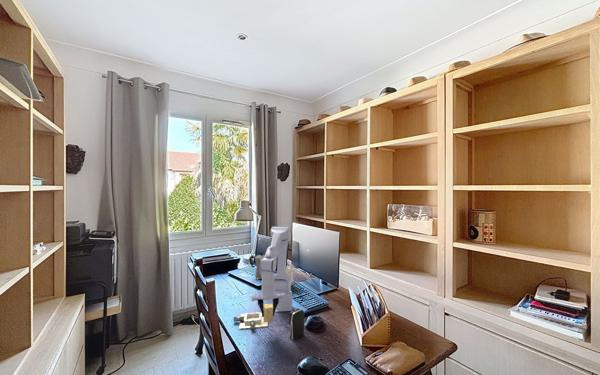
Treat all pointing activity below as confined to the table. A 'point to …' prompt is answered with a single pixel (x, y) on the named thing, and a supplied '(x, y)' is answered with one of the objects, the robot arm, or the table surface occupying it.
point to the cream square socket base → (251, 321)
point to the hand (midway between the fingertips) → (268, 315)
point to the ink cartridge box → (290, 272)
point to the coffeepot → (257, 264)
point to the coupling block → (268, 312)
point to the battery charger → (296, 323)
